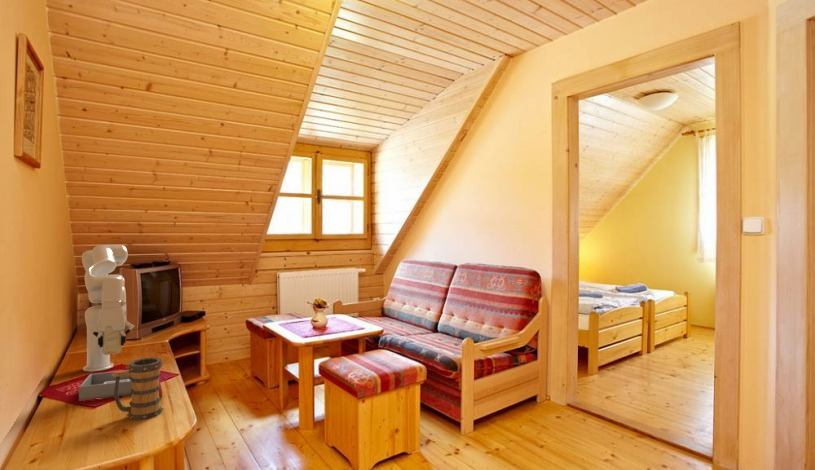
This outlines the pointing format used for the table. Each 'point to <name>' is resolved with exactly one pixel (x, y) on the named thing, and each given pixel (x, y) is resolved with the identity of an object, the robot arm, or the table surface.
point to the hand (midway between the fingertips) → (112, 345)
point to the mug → (141, 388)
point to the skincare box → (111, 341)
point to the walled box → (104, 386)
